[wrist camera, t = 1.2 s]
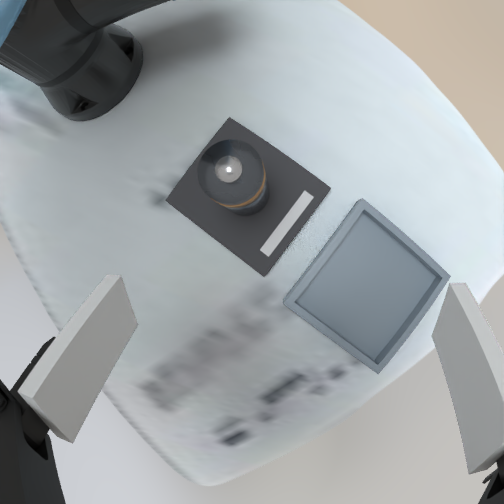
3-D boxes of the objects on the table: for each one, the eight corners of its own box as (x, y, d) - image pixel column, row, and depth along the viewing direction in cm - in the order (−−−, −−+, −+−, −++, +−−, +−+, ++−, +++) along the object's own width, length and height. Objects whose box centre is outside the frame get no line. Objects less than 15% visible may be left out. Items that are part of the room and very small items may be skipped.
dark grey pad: (167, 201, 36) (164, 200, 35) (230, 119, 35) (229, 116, 34) (264, 276, 35) (263, 276, 34) (330, 189, 34) (331, 187, 33)
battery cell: (213, 198, 35) (181, 177, 23) (241, 161, 34) (222, 124, 23) (250, 225, 35) (234, 217, 23) (279, 188, 34) (277, 161, 23)
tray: (283, 299, 35) (283, 303, 33) (357, 201, 34) (362, 198, 31) (372, 366, 34) (378, 374, 32) (441, 274, 33) (450, 276, 31)
